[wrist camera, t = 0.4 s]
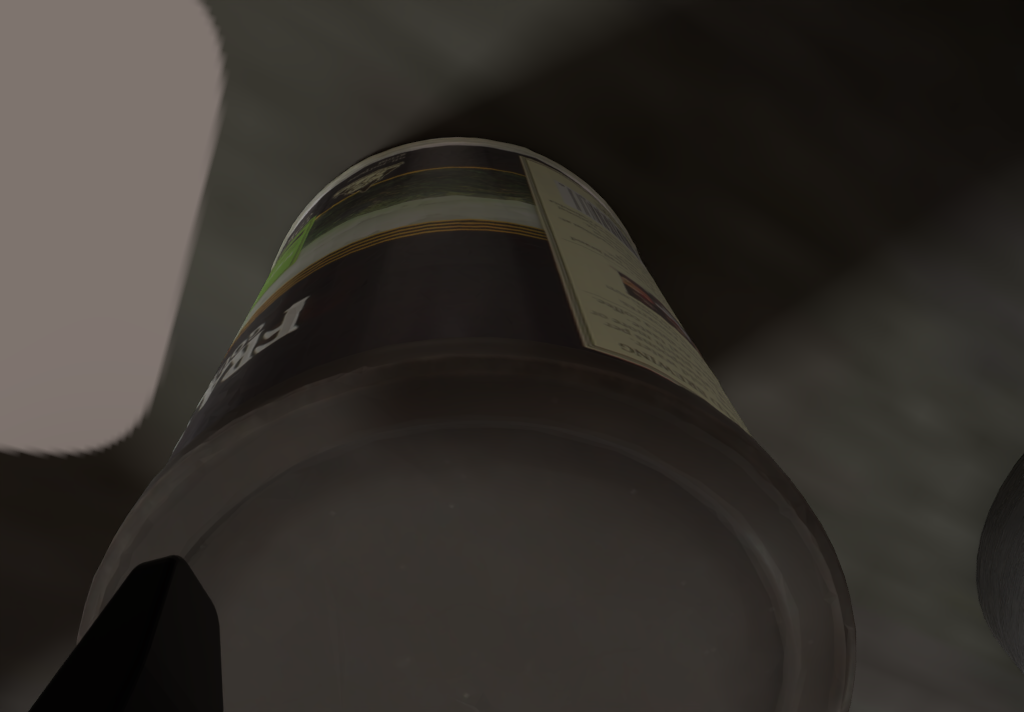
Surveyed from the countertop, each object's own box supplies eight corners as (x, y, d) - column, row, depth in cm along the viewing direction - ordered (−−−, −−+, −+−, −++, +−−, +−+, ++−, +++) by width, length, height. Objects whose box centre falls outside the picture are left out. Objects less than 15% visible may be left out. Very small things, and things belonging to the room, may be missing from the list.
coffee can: (220, 435, 26) (1, 902, 13) (331, 72, 23) (181, 228, 10) (565, 538, 28) (665, 1031, 15) (716, 219, 25) (1010, 508, 12)
